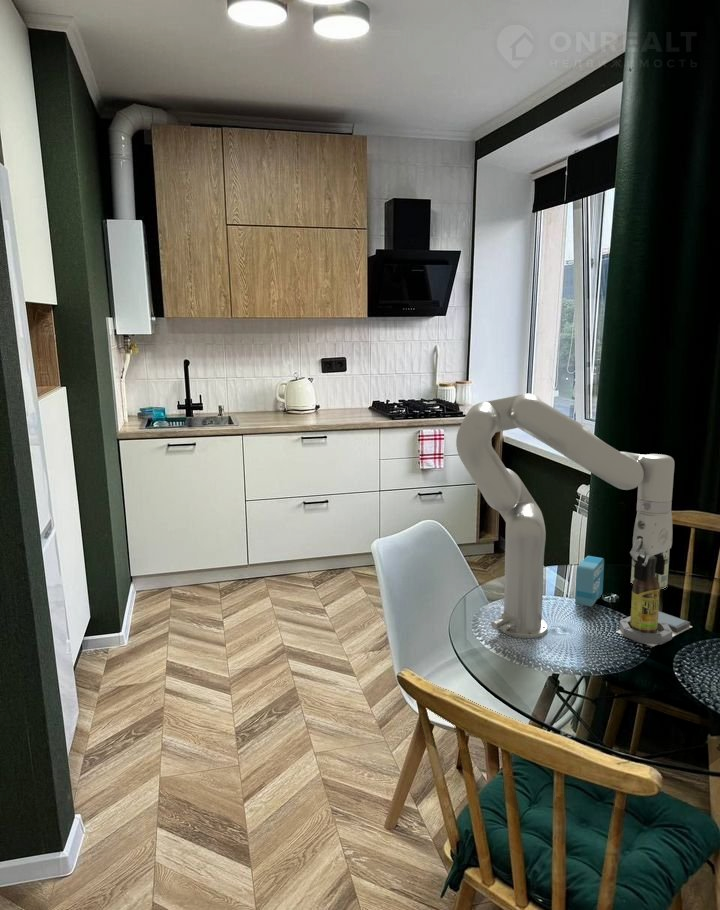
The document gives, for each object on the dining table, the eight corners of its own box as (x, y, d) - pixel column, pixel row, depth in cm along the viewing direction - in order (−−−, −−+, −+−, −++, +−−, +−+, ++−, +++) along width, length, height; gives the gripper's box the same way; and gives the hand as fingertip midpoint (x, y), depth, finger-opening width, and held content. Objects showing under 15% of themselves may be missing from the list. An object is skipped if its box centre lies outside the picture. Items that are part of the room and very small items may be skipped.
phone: (676, 632, 161) (677, 628, 160) (643, 620, 168) (643, 615, 168) (689, 626, 164) (689, 621, 164) (656, 614, 171) (656, 609, 171)
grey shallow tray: (653, 653, 153) (654, 640, 153) (611, 635, 162) (612, 624, 162) (694, 631, 164) (695, 620, 163) (653, 616, 173) (653, 605, 172)
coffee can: (633, 575, 202) (636, 532, 199) (669, 582, 196) (672, 537, 194) (627, 586, 193) (630, 541, 191) (664, 593, 188) (668, 547, 185)
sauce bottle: (643, 640, 157) (645, 561, 153) (624, 630, 162) (626, 554, 159) (663, 635, 159) (666, 558, 156) (644, 626, 165) (647, 550, 161)
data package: (591, 611, 177) (593, 569, 175) (574, 607, 179) (576, 566, 177) (602, 596, 187) (604, 556, 184) (586, 593, 189) (588, 554, 187)
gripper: (648, 515, 147) (642, 589, 150) (688, 503, 156) (682, 573, 160) (618, 508, 153) (614, 580, 156) (659, 497, 163) (654, 564, 166)
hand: (648, 575), depth 158 cm, fingers open, 6 cm apart
